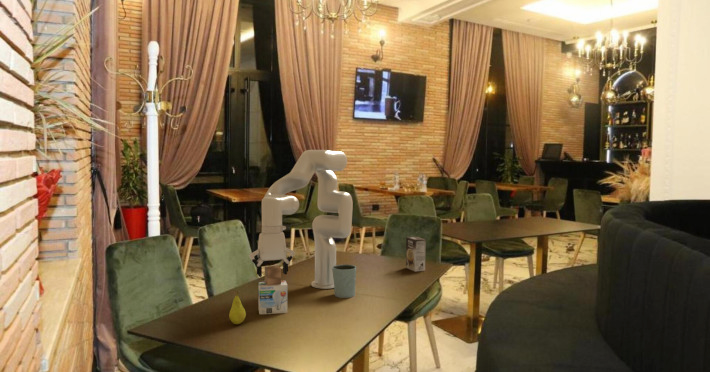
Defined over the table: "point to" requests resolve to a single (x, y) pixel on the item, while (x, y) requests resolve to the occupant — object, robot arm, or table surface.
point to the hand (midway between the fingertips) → (272, 274)
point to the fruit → (237, 311)
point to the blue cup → (344, 280)
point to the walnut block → (272, 275)
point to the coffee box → (415, 253)
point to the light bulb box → (272, 298)
